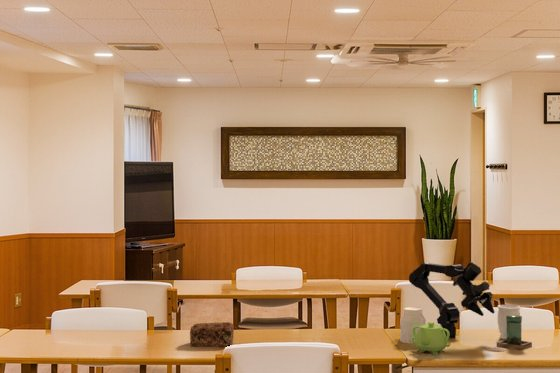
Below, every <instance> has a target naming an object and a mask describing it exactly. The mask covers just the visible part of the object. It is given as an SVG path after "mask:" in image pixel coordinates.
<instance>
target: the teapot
mask: <svg viewBox="0 0 560 373" xmlns="http://www.w3.org/2000/svg"><path fill="white" fill-rule="evenodd" d="M416 328H419V330H418V332H417V335H416V332H415V329H416ZM444 331H446V332H447V337H446V334H445V332H444ZM413 334H414V338H412V342H414V343H413V344H414V345H415V347H416V349H418V353H425V352H426V351H430V352H431V353H432V355H439V353H438V352H440V353H441V352H442V351H443V352H444V350H445V349H446V347H447V348H449V347H450V346H451V342H450V341H449V339H450V338H449V336H450V333H449V331H448V330H447V329H443V327H442V326H440V324H435V322H433V321H429V322H427V324H426V325H422V326H415V327H414V328H413ZM414 339H415V341H414Z"/></svg>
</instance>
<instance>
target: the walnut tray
mask: <svg viewBox="0 0 560 373" xmlns="http://www.w3.org/2000/svg"><path fill="white" fill-rule="evenodd" d="M532 346H533V342H532V341H525V340H521V345H513V344H507V343H506V339H503V340H500V341H498V342H496V347H498V348H504V349H512V350H516V351H521V350H524V349H528V348H530V347H531V348H532Z"/></svg>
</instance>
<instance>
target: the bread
mask: <svg viewBox="0 0 560 373" xmlns="http://www.w3.org/2000/svg"><path fill="white" fill-rule="evenodd" d="M189 330H190V331H189V340H190V347H192V348H193V347H199V348H200V347H202V348H203V347H204V348H205V347H207V348H209V347H212V348H214V347H218V348H219V347H220V348H223V347H225V348H226V347H229V346H228V345H231V346H232V345H233V344H234V333H235V331H234V330H235V328H234V323H232V322H228V321H227V322H224V321H221V322H216V321H215V322H214V321H213V322H203V323H202V322H201V323H195V324H193V325H192V326H191V327H190V329H189Z"/></svg>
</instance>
